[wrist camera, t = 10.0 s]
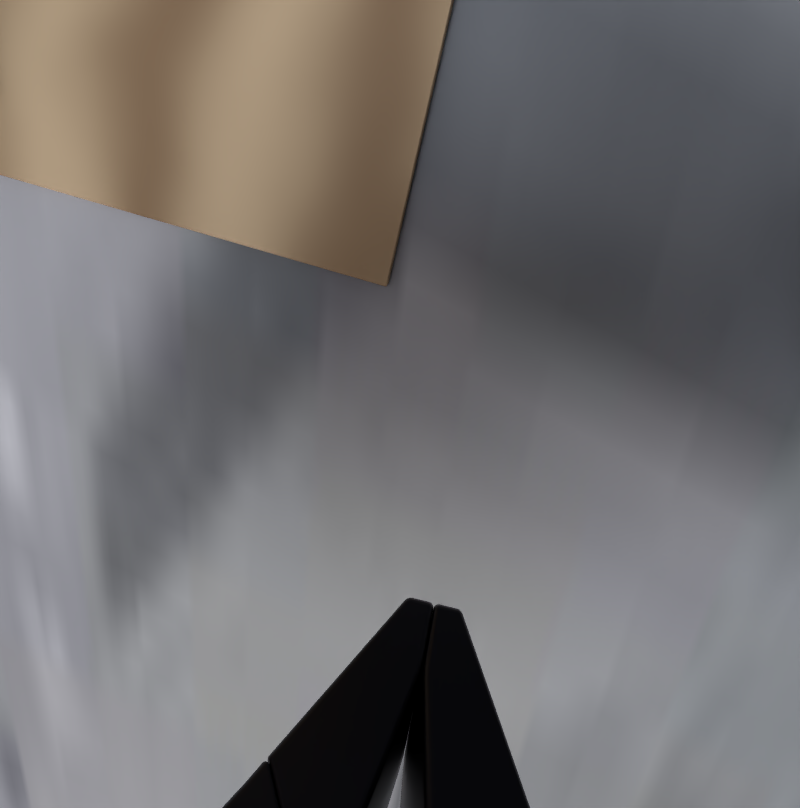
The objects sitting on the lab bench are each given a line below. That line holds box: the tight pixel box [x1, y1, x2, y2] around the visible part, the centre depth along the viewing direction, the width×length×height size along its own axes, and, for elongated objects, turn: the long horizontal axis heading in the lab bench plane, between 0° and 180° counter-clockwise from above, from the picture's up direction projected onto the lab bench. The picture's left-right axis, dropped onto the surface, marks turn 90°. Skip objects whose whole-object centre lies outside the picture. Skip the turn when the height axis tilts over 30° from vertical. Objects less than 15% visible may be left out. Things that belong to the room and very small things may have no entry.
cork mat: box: [0, 0, 454, 286], centre depth 18 cm, size 16×12×1 cm
